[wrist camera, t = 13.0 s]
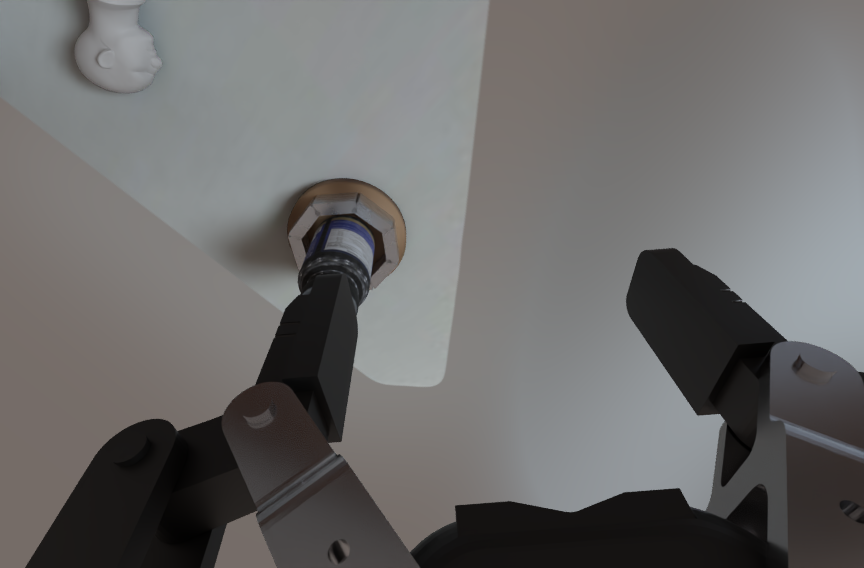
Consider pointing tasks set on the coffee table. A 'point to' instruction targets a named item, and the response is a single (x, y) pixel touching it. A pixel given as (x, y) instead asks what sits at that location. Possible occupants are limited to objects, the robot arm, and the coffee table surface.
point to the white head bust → (117, 47)
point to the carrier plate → (356, 203)
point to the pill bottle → (340, 255)
